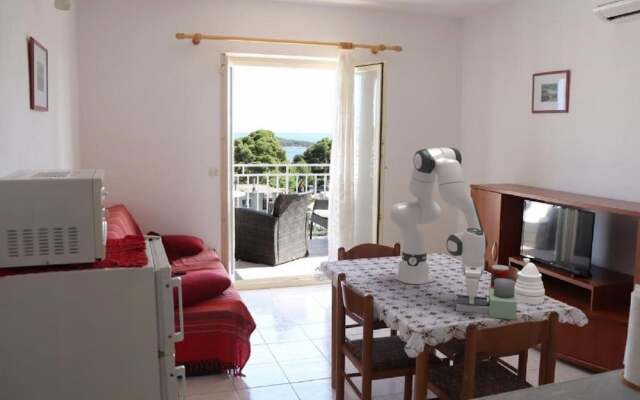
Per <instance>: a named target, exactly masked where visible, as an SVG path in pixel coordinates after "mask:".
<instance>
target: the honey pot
mask: <svg viewBox="0 0 640 400" xmlns="http://www.w3.org/2000/svg"><path fill="white" fill-rule="evenodd" d="M530 261H531V259H530V258H523V263H524V264H525V265H524V266H523V268H522V269H521V270H519V271H517V272H516V273H517V276H518V277H517V278H516V281H515V290H514V292H515V296H516V301H519V302H518V303H520V302H523V303H522V304H524V303H529V304H528V305H533V304H535V305H540V304H539V303H542V304H544V303H545V292H546V290H545V287H544V281H542V277H543V275H542V273H540V272H539V270H538V268H537V266H536V264H534V263H533V262H530ZM543 302H544V303H543Z"/></svg>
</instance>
